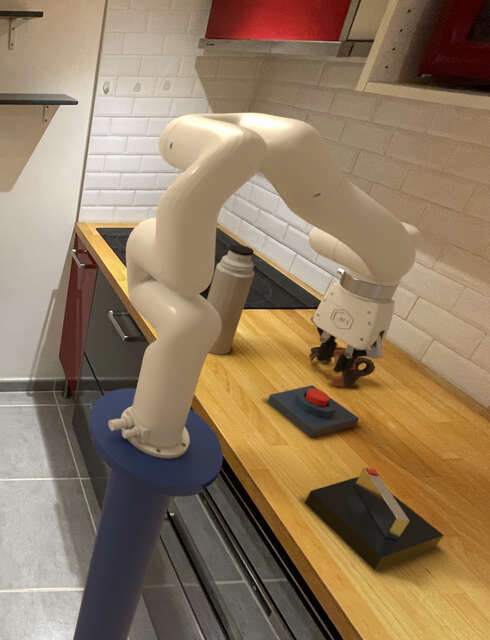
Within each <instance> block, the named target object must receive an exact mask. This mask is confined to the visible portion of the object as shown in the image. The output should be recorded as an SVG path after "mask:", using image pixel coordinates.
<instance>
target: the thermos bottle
mask: <svg viewBox="0 0 490 640" xmlns="http://www.w3.org/2000/svg"><path fill="white" fill-rule="evenodd" d="M253 255H254V249H253V248H251V247H249V246H247V245H243V244H231V245H230V246H229V250H228V252H227V254H226V255H223V256H222V258H221V259H220V262H218V263H217V264H216V266H215V269H214V274H213V277H212V281H211V283H210V286H209V287H210V288H209V291H208V295H207V298H206V300H207V301H208V302H209V303H210V304H211V305H212V306H213V307H214V308H215V309H216V311H217V312H218V314H219V316H220V318H221V323H222V328H221V332H220V334H219V336H218V338H217V340H216V341H215V343H214V344H213V346H212V348H211V349H210V351H209V353H211V354H215V355H226V354H228V353H230V351H231V348H232V345H233V342H234V339H235V335H236V332H237V330H238V326H239V324H240V320H241V317H242V314H243V311H244V308H245V305H246V302H247V299H248V296H249V293H250V290H251V286H252V284H253V280H254V276H255V271H254V270H253V269H254V268H255V267H254V266H255V265H254V262H253V261H252V257H253Z"/></svg>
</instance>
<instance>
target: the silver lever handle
mask: <svg viewBox="0 0 490 640" xmlns="http://www.w3.org/2000/svg"><path fill="white" fill-rule="evenodd" d="M358 477H359V478H358V480H357V482H356V483H355V485H354V487H355V489H356V490H357V492H358V494H359V495H360V497H361V499H362V500H363V502H364V503H365V505H366V507H367V508H368V510H369V512H370V513H371V515H372V517H373V518H374V520H375V522H376V523H377V525H378V527H379V528H380V530H381V532H382V533H383V535H384V536H385V538H390V539H394V540H398V538H399V537H400V535H401V534H402V532H403V531H404V529H405V528H406V526H407V524H408V523H409V519H408V518H407V516H406V515H405V513H404V512H403V510H402V509H401V507H400V506H399V504H398V503H397V501H396V500H395V498H394V497H393V496H392V494H393V493H392V492H391V491H390V490H389V488H388V486H387V485H386V484H385V482H384V481H383V479H382V478H381V476H380V474H379V473H378V471H377V469H374V468H369V467H363V468H362V470H361V472H360V474H359V476H358ZM391 493H392V494H391Z"/></svg>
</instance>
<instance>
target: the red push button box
mask: <svg viewBox="0 0 490 640" xmlns="http://www.w3.org/2000/svg"><path fill="white" fill-rule="evenodd" d="M309 389H318V387H316V386H314V385H313V384H311V385H307V386H302V387H298V388H293V389H290V390H289V389H288V390H284V391H280V392H275V393H271V394H269V397H268V400H267V404H269V405H270V406H271V407H272V408H274V409H275V410H277V411H278V412H279V413H280V414H281V415H283V416H284V417H285V418H286V419H287V420H288V421H290V422H291V423H292V424H293V425H295V426H296V427H297V428H298V429H300V430H301V431H302V432H303V433H304V434H306V435H307V436H308V437H309V438H314V437H319V436H323V435H327V434H330V433H334V432H338V431H342V430H347V429H350V428H353V427H356V426H357V424H358V422H359V420H360V418H359V417H358V416H357V415H355V414H354V413H352V412H351V411H350V410H348V409H347V408H346V407H344V406H343V405H341V404H340V403H339V402H337V401H336V400H335V399H333V398H332V397H331V396H329V401H328V403H327V405H326V406H325V407H321V406H317V405H315V404H312V403H311V402H309V401H308V400H306V398H305V396H306V394H307V392H308V390H309ZM318 390H320V389H318Z"/></svg>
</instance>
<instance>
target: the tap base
mask: <svg viewBox="0 0 490 640" xmlns="http://www.w3.org/2000/svg"><path fill="white" fill-rule="evenodd" d="M358 478H359V476H357V477H352V478H349V479H346V480H343V481H339V482H335V483H332V484H329V485H324V486H322V487H319V488H315V489H312V490H310V491H309V493H308V495H307V497H306V499H305V501H304V504H305V505H306V506H307V507H308V508H309V509H310V510H311V511H312V512H313V513H315V515H317V516H318V518H320V519H321V520H322V521H323V522H324V523H325V524H326V525H327V526H328V527H329V528H330V529H331V530H332V531H333V532H334V533H335V534H337V535H338V537H339V538H340V539H341V540H342V541H344V542H345V543H346V544H347V545H348V546H349V547H350V548H351V549H352V550H353V551H354V552H355V553H356V554H357V555H358V556H359V557H360V558H361V559H362V560H363V561H365V563H366V564H367V565H368V566H370V568H371V569H373V570H374V571H376V570H377V569H380V568H384V567H386V566H389V565H391V564H394V563H397V562H399V561H402V560H405V559H408V558H411V557H413V556H416V555H419V554H421V553H425V552H426V551H429V550H432V549H435V548H436V547H437V546H438V544H439V543H440V541H442V539H443V538H444V536H445V534H443V533H442V532H440V531H439V530H438V529H437V528H435V527H434V526H433V525H432V524H430V523H429V522H428V521H427V520H425V519H424V518H423V517H422V516H420V515H419V514H418V513H416V511H414V510H413V509H412V508H410V507H409V506H408V505H407V504H406V503H404V502H403V501H402V500H401V499H399V498H398V497H397V496H396V495H394V494H393V493H392V492H390V493H391V494H392V496H393V497H394V498H395V500H396V501H397V503H398V504H399V506H400V507H401V509H402V510H403V512H404V513H405V515H406V516H407V518H408V519H409V523H408V524H407V526H406V528H405V529H404V531H403V532H402V534H401V535H400V537H399V538H398V540H394V539H390V538H385V536H384V535H383V533H382V532H381V530H380V528H379V527H378V525H377V523H376V522H375V520H374V518H373V517H372V515H371V513H370V512H369V510H368V508H367V507H366V505H365V503H364V502H363V500H362V499H361V497H360V495H359V494H358V492H357V490H356V489H355V487H354V485H355V483H356V482H357V480H358Z"/></svg>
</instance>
